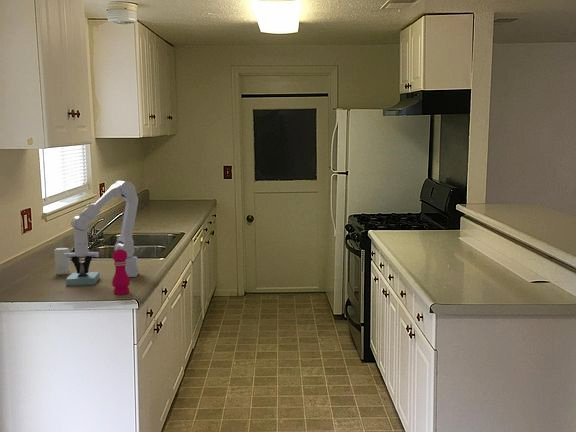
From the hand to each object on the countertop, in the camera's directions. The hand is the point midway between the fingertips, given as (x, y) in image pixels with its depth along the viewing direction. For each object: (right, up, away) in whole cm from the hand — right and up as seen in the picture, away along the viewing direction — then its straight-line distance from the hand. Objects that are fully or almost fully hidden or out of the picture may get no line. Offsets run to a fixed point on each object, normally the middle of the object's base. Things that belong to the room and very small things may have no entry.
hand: (82, 273), depth 280 cm
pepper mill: (+22, -7, -18) cm, 29 cm away
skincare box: (-15, -2, +17) cm, 23 cm away
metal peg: (0, -3, 0) cm, 3 cm away
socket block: (0, -4, +1) cm, 4 cm away
